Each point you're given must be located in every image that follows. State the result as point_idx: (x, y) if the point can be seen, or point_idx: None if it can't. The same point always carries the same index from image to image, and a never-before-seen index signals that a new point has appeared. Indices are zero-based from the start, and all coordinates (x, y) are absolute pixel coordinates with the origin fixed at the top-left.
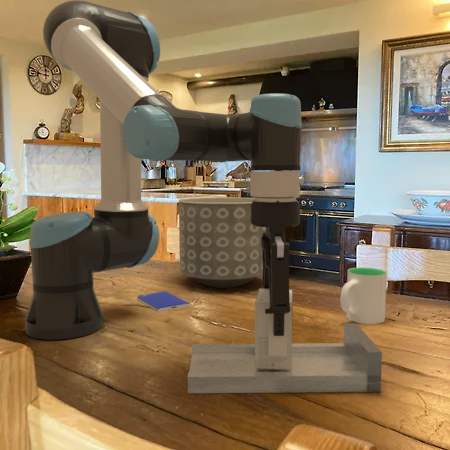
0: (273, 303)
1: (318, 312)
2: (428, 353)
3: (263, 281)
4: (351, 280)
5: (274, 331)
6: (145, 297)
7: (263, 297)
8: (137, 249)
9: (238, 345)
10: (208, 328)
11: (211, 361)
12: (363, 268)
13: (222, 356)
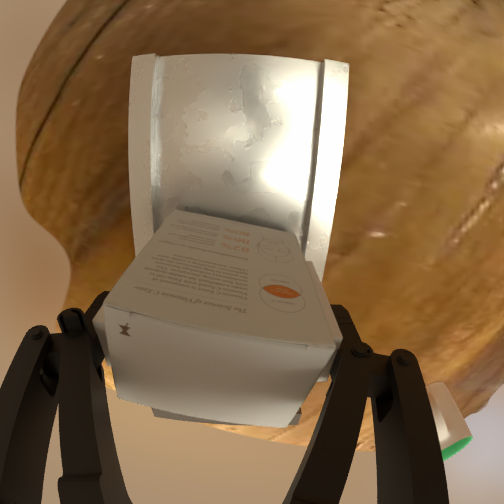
0: (22, 348)
1: (472, 351)
2: (286, 434)
3: (392, 373)
4: (446, 435)
5: (95, 299)
6: None
7: (169, 346)
8: None
9: (326, 184)
10: (488, 148)
11: (260, 104)
12: (463, 446)
13: (291, 135)
